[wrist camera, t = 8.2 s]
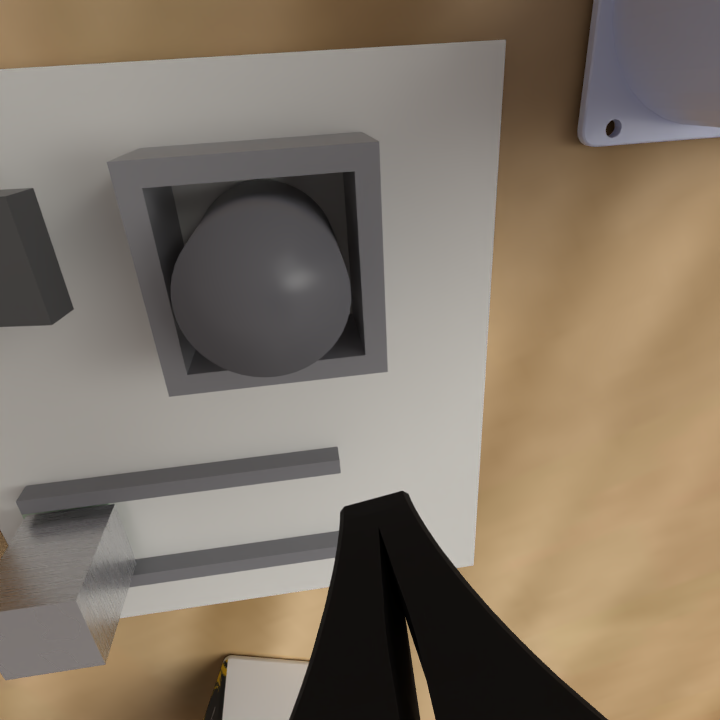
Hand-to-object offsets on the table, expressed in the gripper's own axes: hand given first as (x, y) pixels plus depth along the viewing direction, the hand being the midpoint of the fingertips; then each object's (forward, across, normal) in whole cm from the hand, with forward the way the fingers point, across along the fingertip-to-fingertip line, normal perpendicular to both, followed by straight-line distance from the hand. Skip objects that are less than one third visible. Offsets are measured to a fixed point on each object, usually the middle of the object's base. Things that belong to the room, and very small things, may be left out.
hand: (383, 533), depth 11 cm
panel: (+9, +4, 0) cm, 10 cm away
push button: (+8, +1, -4) cm, 9 cm away
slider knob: (+8, +11, +4) cm, 14 cm away
